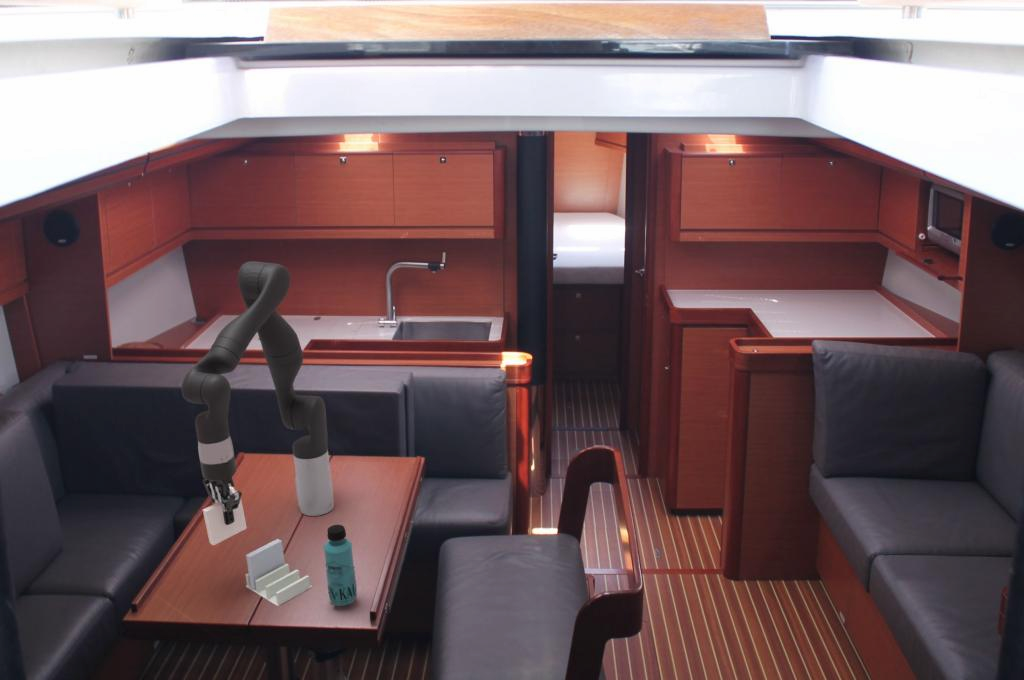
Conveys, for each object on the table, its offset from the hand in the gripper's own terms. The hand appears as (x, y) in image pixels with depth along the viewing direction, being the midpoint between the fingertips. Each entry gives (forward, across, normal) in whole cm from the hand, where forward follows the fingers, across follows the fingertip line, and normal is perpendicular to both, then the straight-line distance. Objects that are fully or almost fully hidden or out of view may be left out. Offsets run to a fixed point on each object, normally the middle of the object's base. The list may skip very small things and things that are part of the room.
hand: (227, 521), depth 226 cm
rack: (+18, +8, +6) cm, 21 cm away
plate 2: (+17, +4, +6) cm, 19 cm away
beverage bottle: (+18, +25, +12) cm, 33 cm away
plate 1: (+4, 0, 0) cm, 4 cm away
